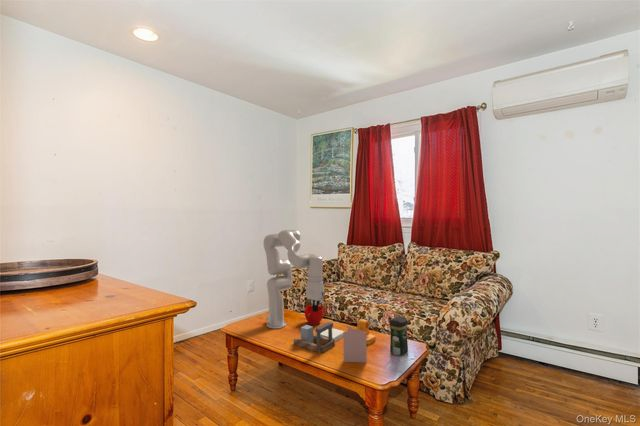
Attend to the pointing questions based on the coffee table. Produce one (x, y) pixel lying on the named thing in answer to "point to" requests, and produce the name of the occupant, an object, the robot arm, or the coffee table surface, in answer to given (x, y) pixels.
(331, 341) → the rack
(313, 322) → the ceramic cup
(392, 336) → the coffee jar
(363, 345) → the greeting card
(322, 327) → the grey arch
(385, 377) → the coffee table surface
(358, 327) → the bracket
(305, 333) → the block
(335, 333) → the plinth
